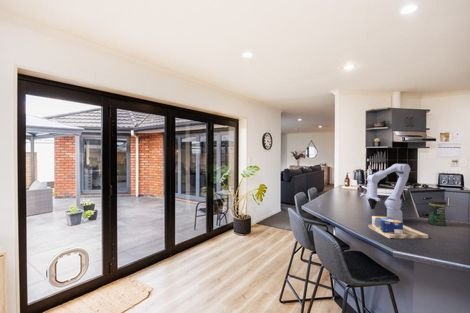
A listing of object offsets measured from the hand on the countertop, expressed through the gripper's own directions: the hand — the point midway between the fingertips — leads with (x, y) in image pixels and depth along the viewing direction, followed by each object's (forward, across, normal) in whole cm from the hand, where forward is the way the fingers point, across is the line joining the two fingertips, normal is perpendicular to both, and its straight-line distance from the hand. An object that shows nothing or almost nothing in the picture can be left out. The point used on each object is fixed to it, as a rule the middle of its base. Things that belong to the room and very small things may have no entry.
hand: (372, 208), depth 180 cm
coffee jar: (+10, +8, +43) cm, 45 cm away
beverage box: (+6, +12, -1) cm, 13 cm away
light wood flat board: (+9, +25, 0) cm, 27 cm away
